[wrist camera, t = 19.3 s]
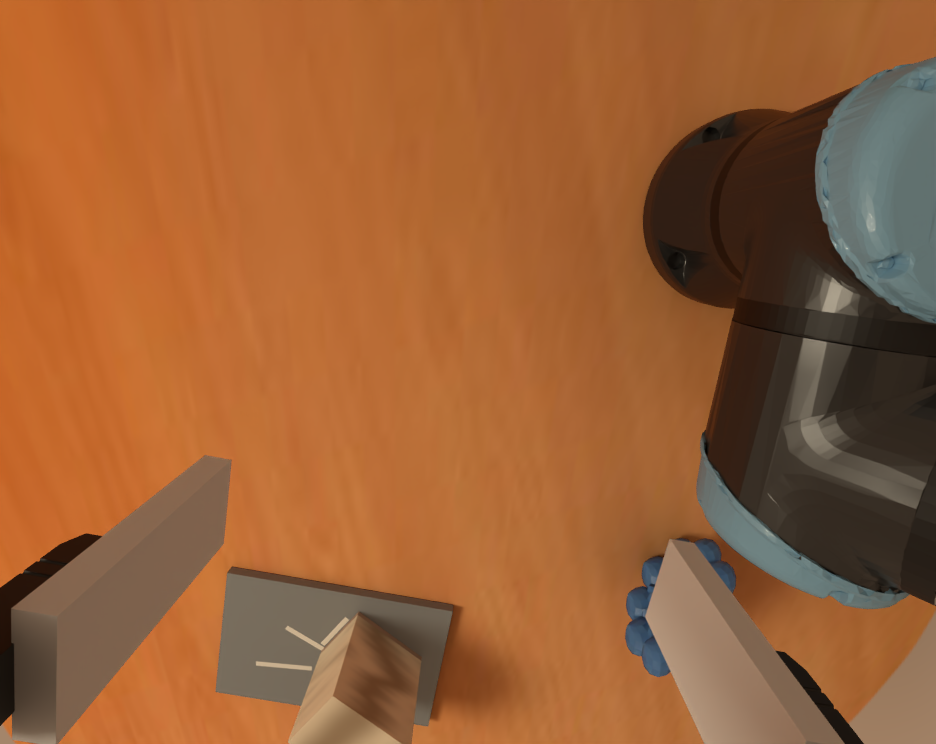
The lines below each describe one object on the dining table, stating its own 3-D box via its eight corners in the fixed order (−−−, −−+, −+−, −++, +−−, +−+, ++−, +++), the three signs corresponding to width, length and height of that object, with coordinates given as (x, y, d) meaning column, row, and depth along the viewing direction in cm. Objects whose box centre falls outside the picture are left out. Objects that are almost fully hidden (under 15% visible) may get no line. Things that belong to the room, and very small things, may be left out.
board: (453, 604, 53) (452, 611, 52) (428, 718, 56) (428, 726, 55) (231, 566, 52) (227, 573, 51) (220, 684, 55) (215, 692, 54)
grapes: (640, 625, 53) (687, 732, 41) (592, 585, 52) (627, 683, 40) (728, 549, 51) (804, 639, 39) (681, 505, 50) (745, 585, 38)
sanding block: (421, 657, 53) (410, 749, 43) (384, 694, 54) (364, 793, 44) (358, 611, 52) (332, 696, 42) (321, 650, 53) (287, 742, 43)
